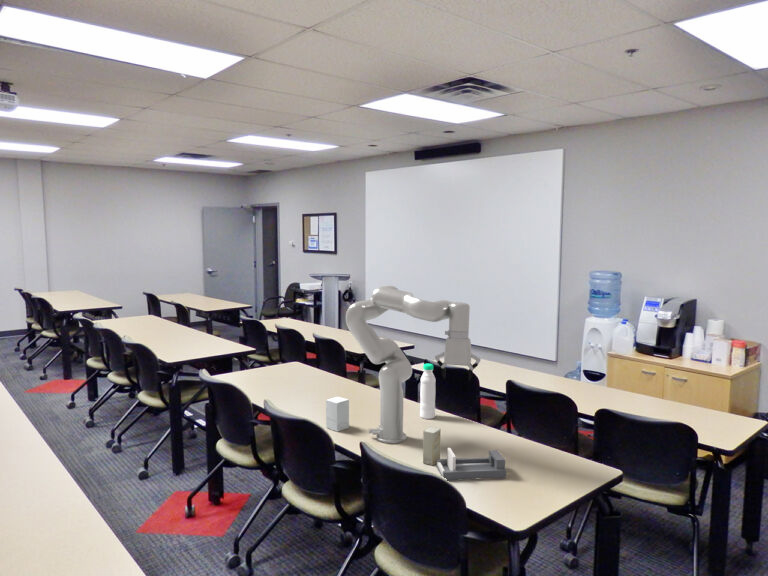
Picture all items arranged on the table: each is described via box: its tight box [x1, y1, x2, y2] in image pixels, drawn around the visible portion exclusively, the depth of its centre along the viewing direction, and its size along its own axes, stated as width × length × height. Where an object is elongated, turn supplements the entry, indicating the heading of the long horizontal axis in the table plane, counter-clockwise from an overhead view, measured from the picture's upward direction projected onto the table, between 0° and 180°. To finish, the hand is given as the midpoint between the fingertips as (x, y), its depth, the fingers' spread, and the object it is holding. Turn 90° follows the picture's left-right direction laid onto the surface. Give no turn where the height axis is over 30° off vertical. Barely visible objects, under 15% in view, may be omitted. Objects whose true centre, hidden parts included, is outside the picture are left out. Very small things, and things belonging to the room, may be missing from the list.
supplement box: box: [325, 396, 350, 432], centre depth 224 cm, size 7×7×13 cm
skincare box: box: [422, 426, 441, 466], centre depth 190 cm, size 6×4×12 cm
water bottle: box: [419, 363, 436, 420], centre depth 239 cm, size 7×7×25 cm
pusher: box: [446, 447, 492, 471], centre depth 182 cm, size 15×8×6 cm, turn 96°
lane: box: [436, 449, 507, 481], centre depth 182 cm, size 22×11×6 cm, turn 96°
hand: (456, 378), depth 198 cm, fingers open, 9 cm apart
